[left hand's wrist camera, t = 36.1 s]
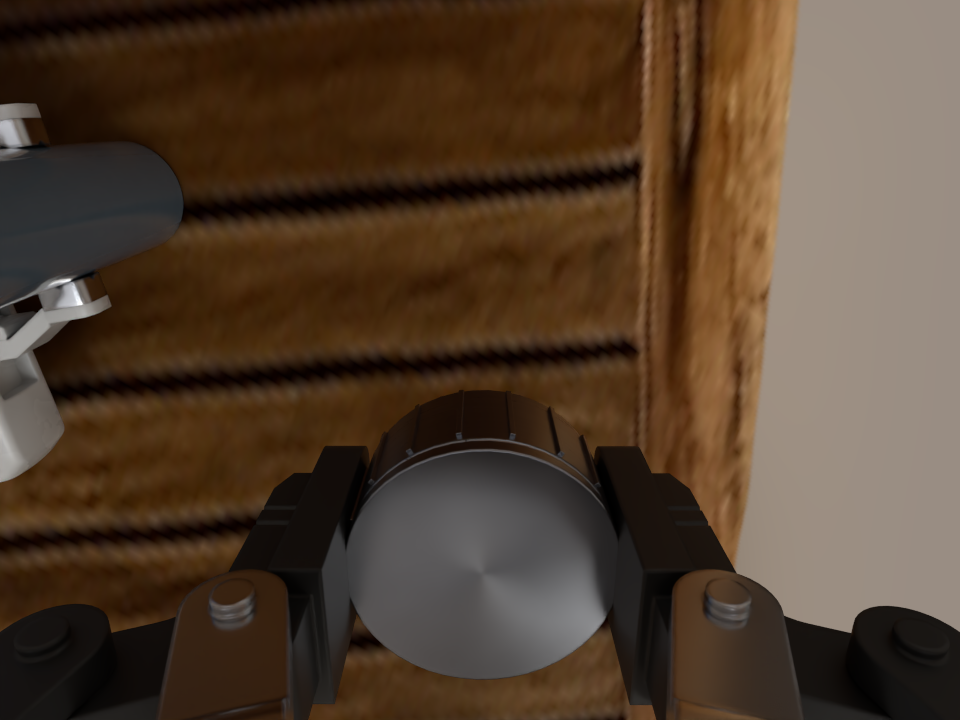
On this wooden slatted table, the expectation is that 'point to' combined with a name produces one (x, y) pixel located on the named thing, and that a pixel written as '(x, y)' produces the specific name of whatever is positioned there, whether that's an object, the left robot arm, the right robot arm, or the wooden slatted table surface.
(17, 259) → the bottle
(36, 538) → the wooden slatted table surface
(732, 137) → the wooden slatted table surface
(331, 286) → the wooden slatted table surface
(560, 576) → the cap
